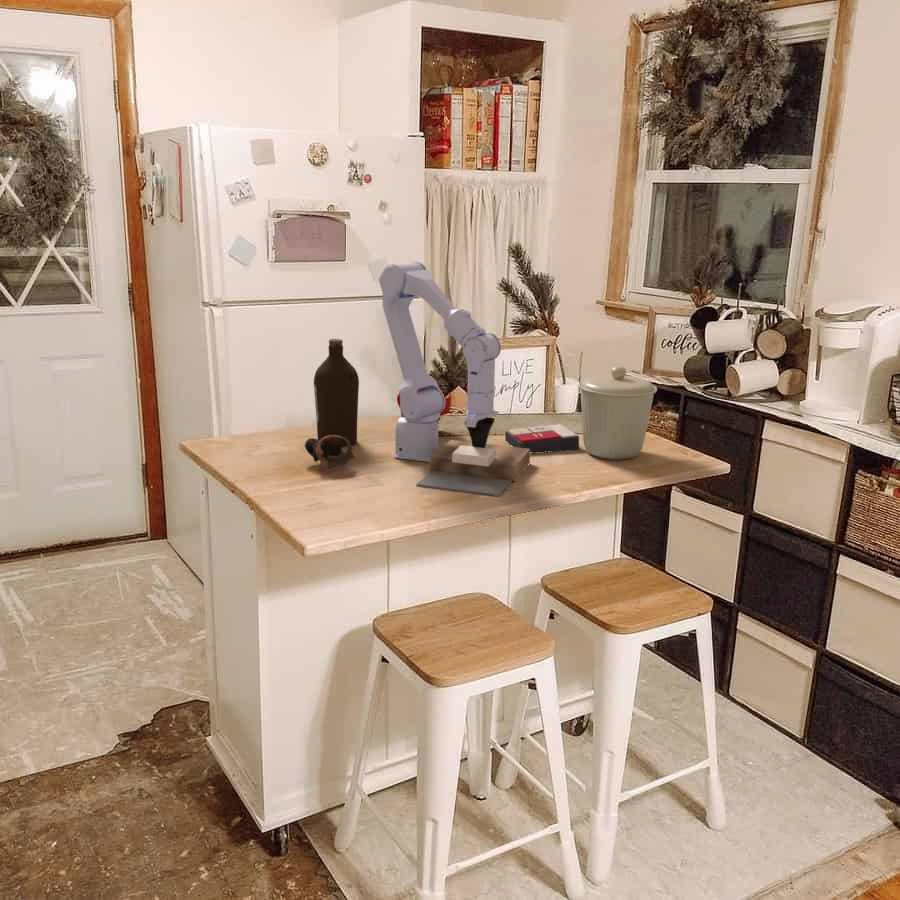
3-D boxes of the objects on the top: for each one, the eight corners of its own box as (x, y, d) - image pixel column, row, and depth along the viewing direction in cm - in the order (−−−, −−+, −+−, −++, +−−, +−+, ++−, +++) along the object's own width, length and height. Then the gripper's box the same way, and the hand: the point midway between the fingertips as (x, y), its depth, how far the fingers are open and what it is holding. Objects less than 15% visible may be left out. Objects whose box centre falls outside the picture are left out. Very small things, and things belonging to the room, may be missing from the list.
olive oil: (363, 437, 221) (363, 337, 214) (353, 450, 211) (352, 344, 204) (321, 435, 222) (319, 335, 215) (309, 447, 212) (307, 342, 205)
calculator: (504, 428, 220) (561, 421, 224) (504, 445, 221) (561, 438, 225) (520, 440, 210) (579, 433, 214) (521, 458, 211) (579, 450, 215)
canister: (558, 451, 214) (562, 363, 207) (609, 439, 224) (615, 356, 218) (615, 470, 200) (622, 377, 194) (667, 456, 211) (675, 368, 205)
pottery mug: (360, 463, 202) (362, 438, 196) (341, 492, 196) (342, 467, 190) (313, 445, 205) (313, 420, 199) (293, 473, 198) (292, 448, 192)
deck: (430, 471, 196) (430, 456, 195) (450, 454, 209) (450, 439, 208) (514, 482, 191) (515, 466, 190) (529, 463, 203) (530, 448, 202)
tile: (452, 462, 192) (452, 453, 191) (460, 453, 197) (460, 445, 197) (488, 466, 189) (488, 457, 189) (495, 458, 195) (496, 449, 194)
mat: (416, 485, 187) (416, 484, 187) (431, 472, 196) (431, 470, 196) (499, 496, 182) (499, 494, 181) (511, 482, 191) (511, 480, 190)
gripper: (489, 399, 185) (487, 462, 189) (507, 385, 198) (504, 444, 202) (457, 396, 187) (455, 458, 191) (476, 382, 200) (474, 441, 204)
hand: (478, 451), depth 197 cm, fingers closed
